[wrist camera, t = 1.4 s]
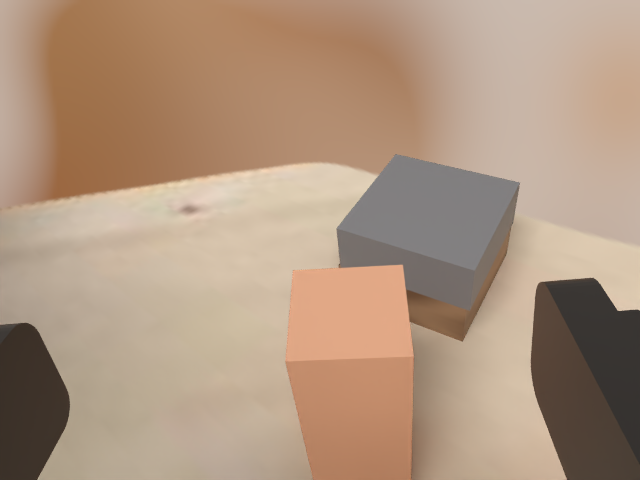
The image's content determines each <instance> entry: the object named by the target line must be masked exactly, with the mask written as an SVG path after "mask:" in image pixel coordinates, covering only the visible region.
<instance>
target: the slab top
mask: <svg viewBox="0 0 640 480" xmlns="http://www.w3.org/2000/svg"><path fill="white" fill-rule="evenodd" d="M519 185H520V183H519V182H515V181H510V180H506V179H502V178H497V177H493V176H489V175H484V174H480V173H476V172H471V171H466V170H462V169H458V168H454V167H449V166H445V165H440V164H436V163H432V162H427V161H423V160H419V159H414V158H410V157H406V156H401V155H397V154H396V155H395V156H394V157H393V158H392V160H391V161H390V162H389V163H388V165H387V166H386V167H385V168H384V170H383V171H382V172H381V173H380V175H379V176H378V177H377V178H376V180H375V181H374V182H373V183H372V185H371V186H370V187H369V188H368V190H367V191H366V192H365V193H364V195H363V196H362V197H361V198H360V200H359V201H358V202H357V203H356V205H355V206H354V207H353V208H352V210H351V211H350V212H349V213H348V215H347V216H346V217H345V219H344V220H343V221H342V222H341V224H340V225H339V226H338V227H337V237H338V247H339V257H340V266H341V267H342V268H349V267H368V266H388V265H403V270H404V279H405V287H406V289H407V290H410V291H413V292H415V293H418V294H421V295H424V296H427V297H430V298H433V299H436V300H439V301H442V302H445V303H448V304H451V305H454V306H457V307H460V308H463V309H466V310H469V311H470V310H471V308H472V306H473V303H474V301H475V299H476V297H477V295H478V293H479V291H480V289H481V287H482V285H483V283H484V281H485V279H486V277H487V275H488V273H489V271H490V269H491V267H492V265H493V263H494V260H495V258H496V256H497V254H498V252H499V250H500V248H501V246H502V244H503V242H504V240H505V238H506V236H507V234H508V232H509V230H510V228H511V226H512V224H513V220H514V214H515V208H516V202H517V197H518V191H519Z"/></svg>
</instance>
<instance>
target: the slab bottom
mask: <svg viewBox="0 0 640 480" xmlns="http://www.w3.org/2000/svg"><path fill="white" fill-rule="evenodd" d="M510 230H511V228H510ZM510 230H509V232H508V234H507V236H506V238H505V240H504V242H503V244H502V246H501V248H500V250H499V252H498V254H497V256H496V258H495V260H494V263H493V265H492V267H491V269H490V271H489V273H488V275H487V277H486V279H485V281H484V283H483V285H482V287H481V289H480V291H479V293H478V295H477V297H476V299H475V301H474V303H473V306H472V308H471V310H470V311H469V310H466V309H463V308H460V307H457V306H454V305H451V304H448V303H445V302H442V301H439V300H436V299H433V298H430V297H427V296H424V295H421V294H418V293H415V292H413V291H410V290H407V289H406V295H407V304H408V312H409V321H410V322H412V323H415V324H418V325H420V326H423V327H425V328H428V329H431V330H433V331H436V332H439V333H441V334H444V335H447V336H449V337H452V338H454V339H457V340H460V341H463V339H464V337H465V335H466V333H467V331H468V329H469V327H470V325H471V324H472V322H473V320H474V318H475V316H476V314H477V312H478V310H479V308H480V306H481V304H482V302H483V300H484V298H485V296H486V294H487V292H488V290H489V288H490V286H491V284H492V282H493V280H494V278H495V276H496V274H497V272H498V270H499V268H500V266H501V264H502V262H503V260H504V258H505V256H506V253H507V247H508V241H509V236H510ZM339 268H342V267H341V266H340V264H339Z"/></svg>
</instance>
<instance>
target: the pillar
mask: <svg viewBox="0 0 640 480" xmlns="http://www.w3.org/2000/svg"><path fill="white" fill-rule="evenodd" d="M285 362H286V366H287V370H288V374H289V378H290V383H291V387H292V391H293V395H294V400H295V404H296V408H297V412H298V416H299V421H300V425H301V429H302V433H303V438H304V442H305V446H306V450H307V455H308V459H309V463H310V467H311V471H312V476H313V480H411V458H412V413H413V368H414V354H413V346H412V338H411V329H410V321H409V312H408V304H407V295H406V287H405V279H404V270H403V265H388V266H368V267H349V268H330V269H311V270H293V277H292V289H291V301H290V313H289V325H288V337H287V349H286V361H285Z"/></svg>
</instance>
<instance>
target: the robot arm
mask: <svg viewBox="0 0 640 480" xmlns="http://www.w3.org/2000/svg"><path fill="white" fill-rule="evenodd" d="M531 373H532V381H533V386H534V391H535V395H536V398H537V401H538V404H539V407H540V410H541V412H542V415H543V417H544V420H545V423H546V425H547V428H548V431H549V433H550V436H551V438H552V441H553V444H554V446H555V449H556V452H557V454H558V457H559V459H560V462H561V465H562V467H563V470H564V473H565V475H566V478H567V480H640V311H639V310H626V311H617V309H616V308H615V306H614V304H613V303H612V301H611V300H610V298H609V297H608V295H607V294H606V292H605V291H604V289H603V288H602V286H601V285H600V284H599V282H598V281H597V280H596V279H594V278H584V279H572V280H560V281H548V282H540V283H539V284H538V286H537V289H536V296H535V309H534V323H533V337H532V351H531ZM69 410H70V401H69V395H68V391H67V389H66V387H65V384H64V382H63V380H62V378H61V376H60V374H59V372H58V370H57V368H56V366H55V364H54V362H53V360H52V358H51V356H50V354H49V352H48V350H47V348H46V346H45V344H44V342H43V340H42V338H41V336H40V334H39V332H38V331H37V329H36V328H35V327H34V326H32V325H31V324H28V323H18V324H6V325H0V480H37V479H38V477H39V475H40V473H41V471H42V470H43V468H44V466H45V464H46V462H47V460H48V459H49V457H50V455H51V453H52V451H53V449H54V447H55V446H56V444H57V442H58V440H59V438H60V436H61V435H62V433H63V431H64V429H65V427H66V424H67V421H68V417H69Z"/></svg>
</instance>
